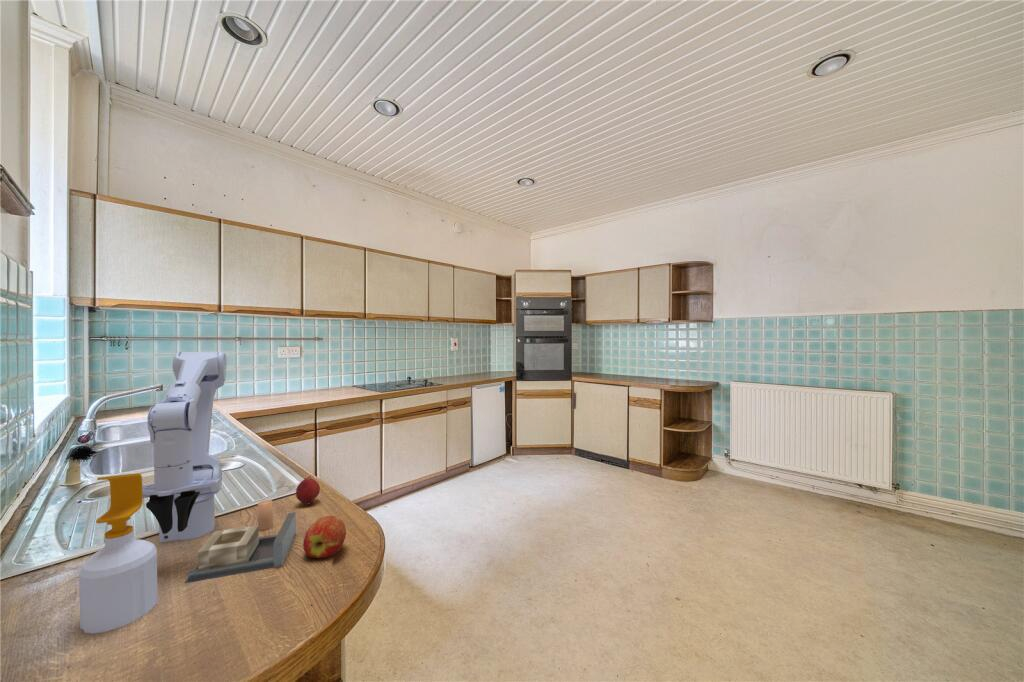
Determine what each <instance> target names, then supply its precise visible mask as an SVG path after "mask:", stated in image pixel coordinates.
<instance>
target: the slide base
mask: <svg viewBox="0 0 1024 682" xmlns="http://www.w3.org/2000/svg"><path fill="white" fill-rule="evenodd" d="M296 535H297V513H296V512H289V513H287V515H286V518H285V519H284V521H283V523H282V525H281V527H280V528H279V531H278V533H277V534H272V535H265V536H259V544H258V545H257V547H256V549H255V551H254V552H253V554H252V556H251V558H250V559H249V561H248V562H242V563H236V564H230V565H224V566H218V567H212V568H206V569H200V570H198V566H196V568H195V569H194V570H189V571H188V573H187V579H186V581H185V582H184V584H188V583H189V584H190V583H195V582H200V581H206V580H213V579H218V578H223V577H228V576H235V575H241V574H245V573H252V572H257V571H264V570H269V569H276V568H280V567H284V564H285V561H286V559H287V557H288V554H289V552H290V549H291V547H292V545H293V541H294V539H295V538H296Z"/></svg>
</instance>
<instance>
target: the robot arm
mask: <svg viewBox="0 0 1024 682" xmlns="http://www.w3.org/2000/svg"><path fill="white" fill-rule="evenodd" d="M172 372H173V375H174V378H175V380H176V381H174V382H171V383H170V384H169V385H168V386H167V388H166V390H165V392H164V394H163V396H162V398H161V399H160V402H158V403H156V404H155V405H154V406H150V408H149V409H148V412H147V417H146V419H147V429H148V432H149V438H150V439H149V440H150V443H152V444H153V471H154V472H153V473H154V475H153V477H154V478H153V479H154V483H152V484H147V485H142V490H143V499H145V498H149V499H148V501H147V502H146V503H145V508H147V509H148V510H149V511H150V513H152V515H153V516H154V517H155V519H156V520H157V522H158V535H159V536H158V537H159V538H158V539H159V540H158V541H159V543H160V544H161V543H166V542H176V541H189V540H194V539H197V538H201V537H203V536H205V535H208V534H209V533H211V532H212V531H214V530H215V528H216V527H215V526H216V524H215V523H216V522H215V521H216V520H215V515H216V514H215V495H216V494H218V493H219V492H220V491H221V489H222V485H223V472H222V471H223V470H222V467H223V466H222V465H223V464H222V462H221V460H220V459H219V458H217V457H215V456H213V455H211V454H209V452H210V451H209V450H210V440H211V430H212V420H213V419H212V418H213V417H212V416H213V410H214V409H213V408H214V400H215V399H214V398H215V394H216V391H217V389H220V388H222V387H223V386H225V382H226V378H227V377H226V376H227V355H226V353H225V352H224V351H222V350H219V351H198V352H197V351H196V352H195V351H194V352H193V351H191V352H190V351H188V352H187V351H185V352H182V351H177V352H176V353H175V354H174V355H173V358H172Z"/></svg>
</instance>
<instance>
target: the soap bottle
mask: <svg viewBox="0 0 1024 682" xmlns="http://www.w3.org/2000/svg"><path fill="white" fill-rule="evenodd" d="M104 480H105V481H106V480H107V481H109V485H110V486H109V488H110V489H109V491H110V507H109V509H108V511H106V512H105V513H104V514H102V515H100V517H98V518H97V519H95V522H96V524H105V523H106V525H107V526H111V529H108V530H107V531H106V532H105V533H104V547H102V548H101V549H100V550H98V551H96V552H95V553H94V554H92V555H91V556H90V557H89V558H88V559H87V560H86V561H84V562H83V564H82V565H81V568H80V569H79V573H78V589H79V590H78V592H79V593H78V595H79V598H78V599H79V601H78V602H79V628H80V630H82V631H83V633H84V634H93V635H94V634H100V633H106V632H107V633H108V632H109V631H113V630H117V629H119V628H122V627H124V626H126V625H129V624H131V623H133V622H135V621H136V620H138V619H139V618H141V617H143V616H145V615H146V614H148V613H150V612H151V610H153V609H154V607H155V605H156V603H158V601H159V599H158V597H159V595H158V554H157V552H158V551H157V549H158V548H157V547H156V545H155V544H154V543H152V542H150V541H148V540H146V539H145V540H144V539H137V538H134V526H133V525H131V524H130V525H129V524H128V525H127V522H128V521H129V520H130V519H131V517H132V516H133V515H135V514H136V513H137V512H138V511H139V510H140V509H141V507H142V505H143V501H144V500H143V499H144V498H143V490H142V486H143V475H142V474H141V473H138V472H137V473H130V474H129V473H127V474H119V475H118V474H117V475H109V476H100V477H97V479H96V481H104Z"/></svg>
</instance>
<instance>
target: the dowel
mask: <svg viewBox="0 0 1024 682" xmlns="http://www.w3.org/2000/svg"><path fill="white" fill-rule="evenodd" d="M273 503H274V501H273V500H272V499H264V500H262V501H259V502H258V503H257V525H259V532H261V531H269V530H271V529H272V528H273V527H274V517H273V516H274V511H273V510H274V508H273V505H274V504H273Z"/></svg>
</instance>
